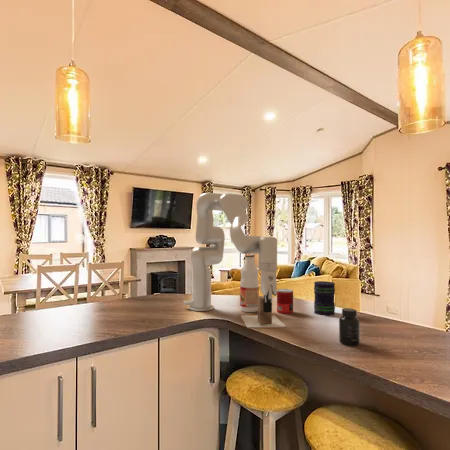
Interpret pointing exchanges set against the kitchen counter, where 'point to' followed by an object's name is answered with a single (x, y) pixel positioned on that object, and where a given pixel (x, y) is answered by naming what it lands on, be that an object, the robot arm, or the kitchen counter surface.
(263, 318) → the block
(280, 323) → the mat
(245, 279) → the fruit juice
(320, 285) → the storage jar
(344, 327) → the supplement bottle
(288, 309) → the canned food
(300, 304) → the kitchen counter surface
